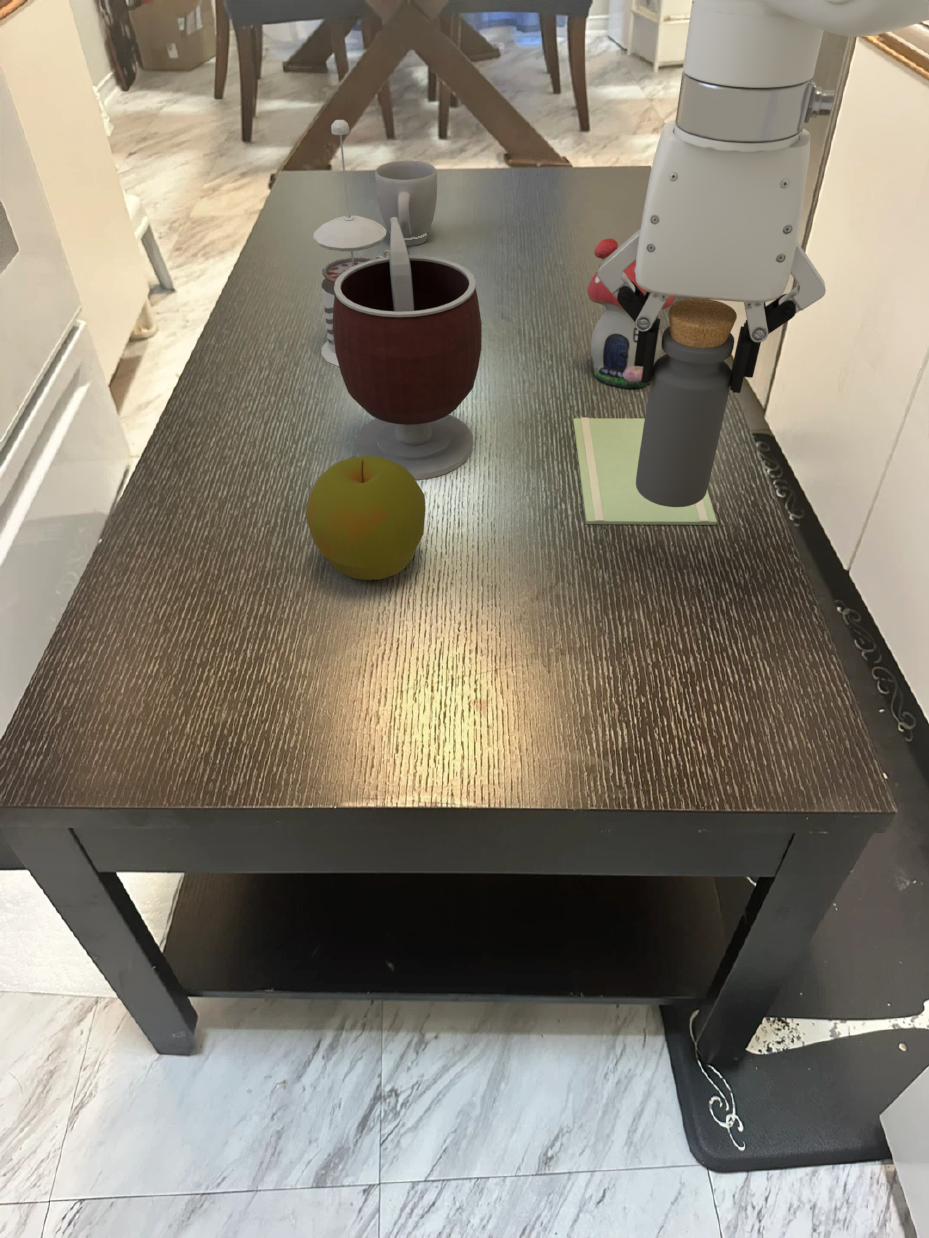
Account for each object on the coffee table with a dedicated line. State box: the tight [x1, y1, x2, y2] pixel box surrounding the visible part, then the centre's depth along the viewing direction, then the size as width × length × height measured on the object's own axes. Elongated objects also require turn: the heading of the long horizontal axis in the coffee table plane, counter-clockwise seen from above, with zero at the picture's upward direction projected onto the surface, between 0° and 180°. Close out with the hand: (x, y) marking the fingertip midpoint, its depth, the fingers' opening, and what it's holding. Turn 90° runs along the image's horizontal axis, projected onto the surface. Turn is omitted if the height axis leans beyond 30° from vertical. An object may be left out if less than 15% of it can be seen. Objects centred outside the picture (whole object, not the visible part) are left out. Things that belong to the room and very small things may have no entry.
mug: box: [374, 159, 438, 247], centre depth 128 cm, size 12×9×10 cm
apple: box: [305, 456, 427, 581], centre depth 74 cm, size 10×10×11 cm
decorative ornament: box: [587, 238, 676, 390], centre depth 97 cm, size 9×7×15 cm
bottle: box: [636, 298, 738, 507], centre depth 68 cm, size 6×6×15 cm
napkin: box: [572, 416, 718, 526], centre depth 88 cm, size 18×12×1 cm, turn 179°
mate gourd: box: [333, 217, 483, 480], centre depth 85 cm, size 16×14×20 cm
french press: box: [313, 119, 390, 367], centre depth 98 cm, size 10×12×25 cm
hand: (691, 377), depth 66 cm, fingers closed on bottle, 5 cm apart
